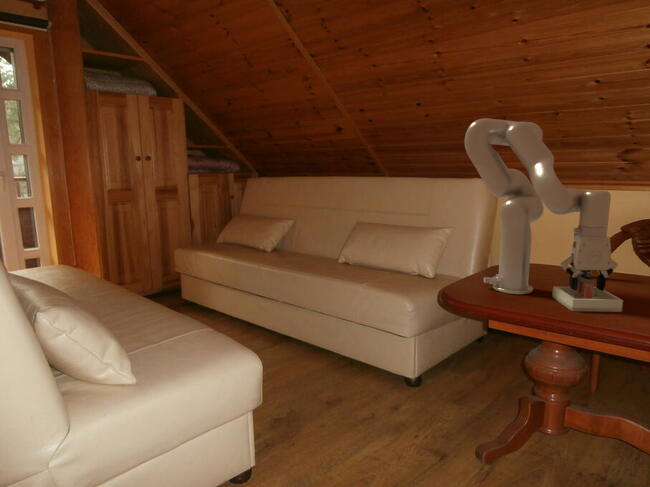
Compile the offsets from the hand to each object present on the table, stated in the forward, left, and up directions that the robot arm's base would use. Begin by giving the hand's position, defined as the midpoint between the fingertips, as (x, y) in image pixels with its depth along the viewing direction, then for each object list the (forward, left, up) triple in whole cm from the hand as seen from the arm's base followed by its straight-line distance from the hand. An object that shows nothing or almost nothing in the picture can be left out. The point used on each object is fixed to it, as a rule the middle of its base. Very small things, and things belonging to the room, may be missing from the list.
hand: (586, 288), depth 141 cm
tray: (0, 0, -5) cm, 5 cm away
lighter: (-1, 0, -4) cm, 4 cm away
